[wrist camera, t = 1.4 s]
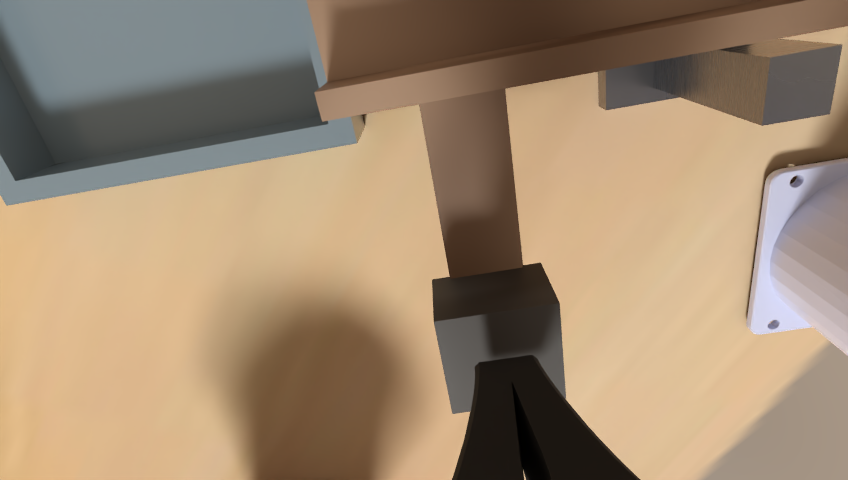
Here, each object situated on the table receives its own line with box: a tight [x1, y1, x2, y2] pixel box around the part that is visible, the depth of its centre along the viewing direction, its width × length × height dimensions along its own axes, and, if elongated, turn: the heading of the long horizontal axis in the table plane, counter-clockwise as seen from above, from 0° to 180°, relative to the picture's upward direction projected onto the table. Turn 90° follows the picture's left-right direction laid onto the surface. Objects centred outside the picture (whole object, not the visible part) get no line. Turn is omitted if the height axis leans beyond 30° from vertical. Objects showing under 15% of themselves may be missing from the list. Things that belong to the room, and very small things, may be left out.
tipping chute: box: [307, 0, 848, 414], centre depth 10 cm, size 20×17×3 cm
